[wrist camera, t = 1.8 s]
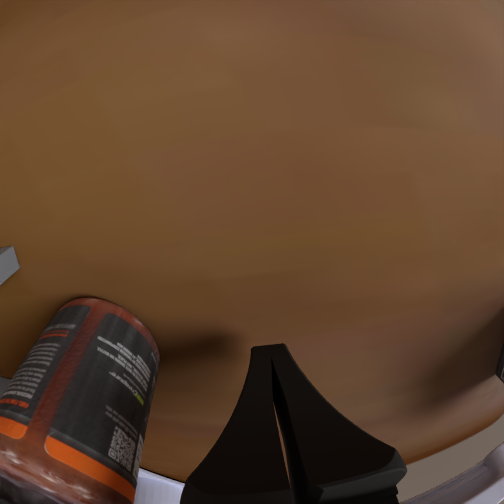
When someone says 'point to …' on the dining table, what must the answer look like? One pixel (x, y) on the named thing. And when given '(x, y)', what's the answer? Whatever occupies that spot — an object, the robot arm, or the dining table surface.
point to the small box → (501, 367)
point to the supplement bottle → (79, 409)
